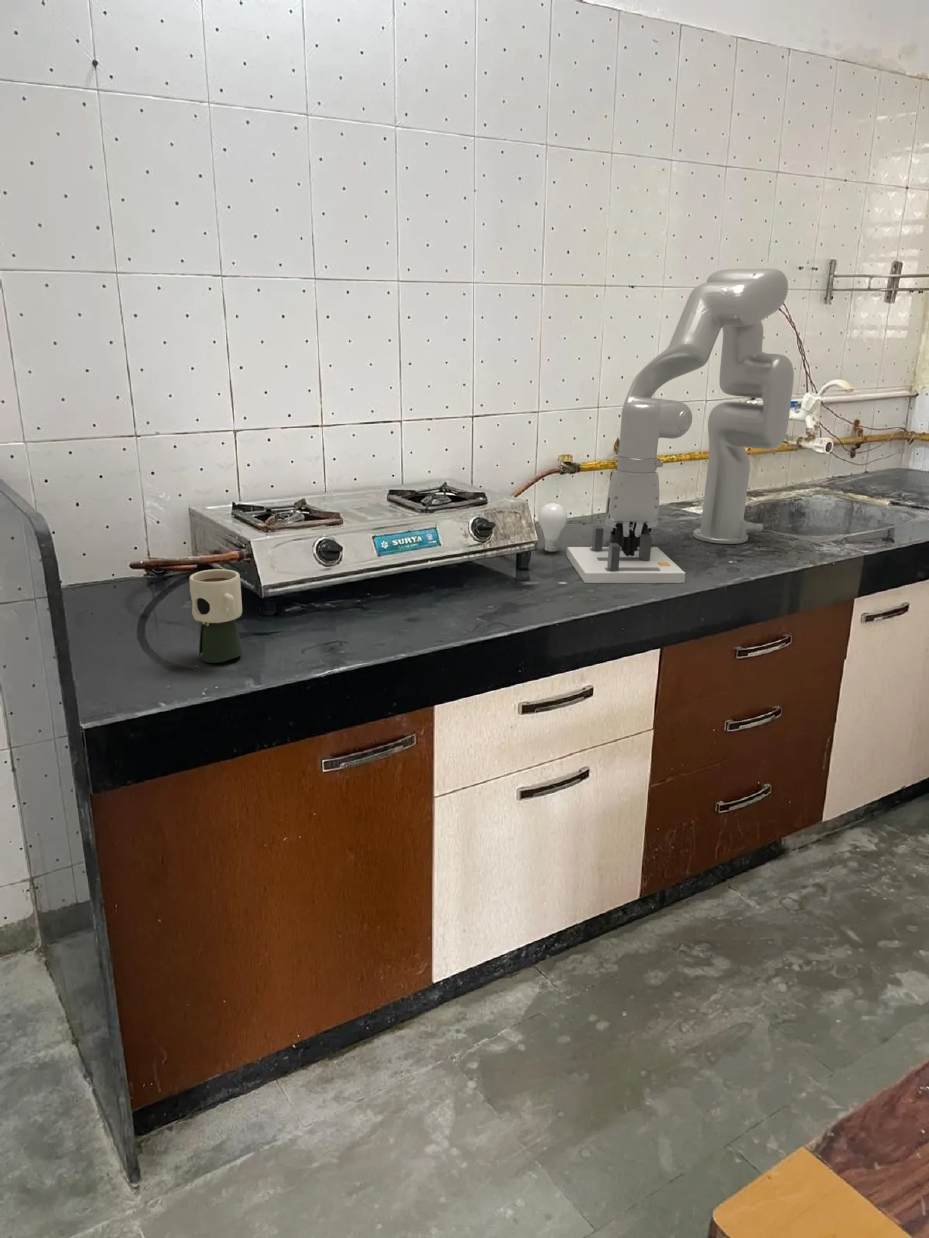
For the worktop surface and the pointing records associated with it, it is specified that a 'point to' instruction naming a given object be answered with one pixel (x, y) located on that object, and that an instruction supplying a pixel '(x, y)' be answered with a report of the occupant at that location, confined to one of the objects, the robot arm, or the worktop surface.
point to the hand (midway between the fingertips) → (628, 554)
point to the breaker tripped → (645, 546)
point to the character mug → (217, 613)
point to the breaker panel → (624, 567)
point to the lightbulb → (552, 524)
